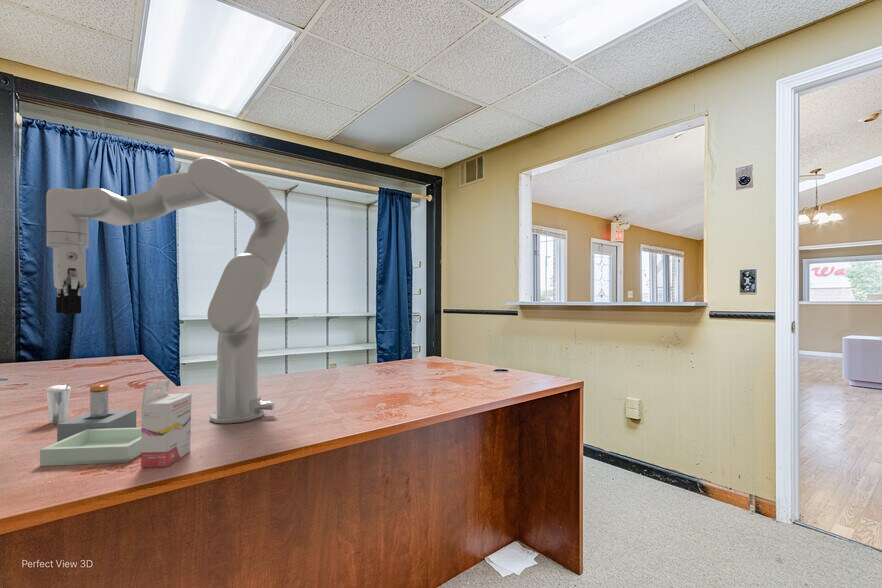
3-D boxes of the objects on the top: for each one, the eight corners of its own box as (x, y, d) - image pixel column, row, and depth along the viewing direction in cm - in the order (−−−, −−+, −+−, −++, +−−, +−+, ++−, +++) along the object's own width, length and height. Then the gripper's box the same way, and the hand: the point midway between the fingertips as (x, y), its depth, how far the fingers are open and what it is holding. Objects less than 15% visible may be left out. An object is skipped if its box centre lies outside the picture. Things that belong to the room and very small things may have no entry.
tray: (162, 440, 91) (162, 426, 91) (127, 462, 79) (127, 446, 79) (87, 443, 89) (87, 429, 89) (39, 465, 77) (40, 449, 77)
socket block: (136, 426, 100) (136, 410, 100) (108, 441, 90) (108, 422, 90) (90, 428, 99) (90, 411, 99) (57, 442, 89) (57, 424, 89)
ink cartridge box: (168, 467, 76) (169, 387, 77) (139, 468, 76) (140, 387, 76) (192, 450, 85) (192, 378, 85) (166, 451, 85) (167, 378, 85)
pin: (111, 431, 97) (112, 384, 97) (101, 436, 93) (102, 387, 93) (96, 432, 96) (96, 384, 96) (85, 437, 93) (86, 387, 93)
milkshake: (58, 425, 101) (58, 384, 101) (40, 424, 102) (41, 383, 102) (78, 420, 105) (78, 380, 106) (61, 418, 107) (61, 379, 107)
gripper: (95, 239, 97) (96, 313, 97) (81, 246, 109) (81, 312, 108) (52, 236, 92) (52, 314, 91) (41, 243, 103) (42, 313, 103)
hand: (68, 313), depth 100 cm, fingers open, 9 cm apart
